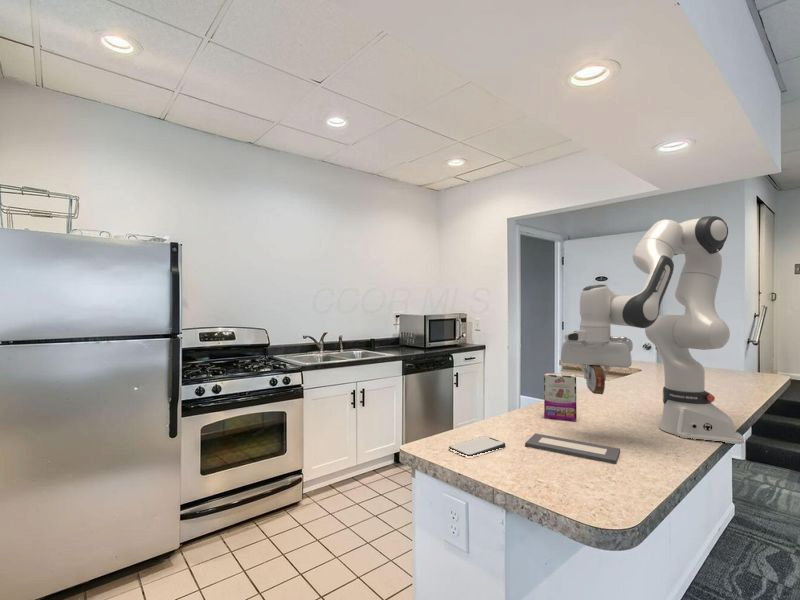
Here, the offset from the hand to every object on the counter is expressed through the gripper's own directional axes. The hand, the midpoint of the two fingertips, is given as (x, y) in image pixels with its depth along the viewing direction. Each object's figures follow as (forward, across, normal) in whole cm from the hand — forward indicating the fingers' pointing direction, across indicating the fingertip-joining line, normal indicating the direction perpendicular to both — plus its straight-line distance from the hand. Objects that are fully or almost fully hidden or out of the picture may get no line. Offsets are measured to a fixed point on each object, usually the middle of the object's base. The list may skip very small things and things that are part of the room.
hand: (595, 379), depth 129 cm
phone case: (+19, +27, +30) cm, 45 cm away
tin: (+4, 0, 0) cm, 4 cm away
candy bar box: (+19, +14, -17) cm, 29 cm away
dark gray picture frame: (+18, +4, +15) cm, 24 cm away
